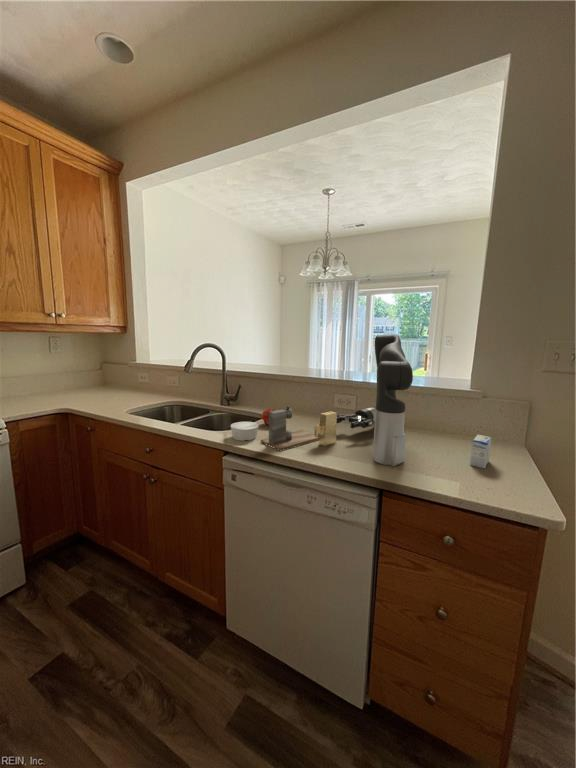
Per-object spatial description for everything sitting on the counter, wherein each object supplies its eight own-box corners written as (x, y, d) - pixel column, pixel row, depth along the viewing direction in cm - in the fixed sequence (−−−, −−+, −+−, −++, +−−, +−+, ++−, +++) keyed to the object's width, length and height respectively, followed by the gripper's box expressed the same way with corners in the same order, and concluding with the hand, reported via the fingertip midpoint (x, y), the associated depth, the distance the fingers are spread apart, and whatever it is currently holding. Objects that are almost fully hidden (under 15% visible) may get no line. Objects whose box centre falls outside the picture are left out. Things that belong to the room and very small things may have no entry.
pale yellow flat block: (335, 442, 124) (337, 412, 122) (318, 448, 117) (319, 416, 116) (329, 440, 126) (330, 411, 124) (312, 446, 120) (313, 415, 118)
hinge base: (321, 439, 128) (322, 404, 126) (280, 451, 114) (280, 412, 112) (301, 432, 137) (301, 399, 135) (260, 442, 123) (260, 406, 121)
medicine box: (474, 458, 110) (476, 434, 109) (489, 461, 107) (492, 436, 106) (469, 465, 104) (472, 439, 103) (485, 468, 101) (488, 442, 100)
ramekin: (253, 443, 122) (253, 430, 121) (226, 441, 124) (226, 428, 124) (261, 434, 133) (261, 422, 132) (236, 432, 135) (236, 420, 134)
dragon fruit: (263, 425, 152) (281, 434, 144) (253, 418, 146) (272, 427, 138) (272, 410, 154) (290, 418, 146) (263, 402, 148) (281, 410, 140)
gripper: (354, 405, 143) (329, 410, 132) (381, 411, 132) (357, 417, 122) (353, 421, 144) (329, 428, 133) (380, 429, 133) (356, 436, 123)
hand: (342, 423), depth 128 cm, fingers open, 8 cm apart
